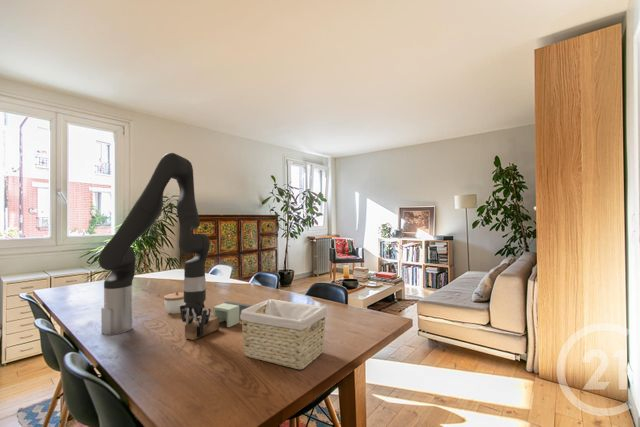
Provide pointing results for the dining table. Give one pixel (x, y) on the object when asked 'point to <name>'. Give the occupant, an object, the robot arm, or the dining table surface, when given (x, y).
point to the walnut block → (208, 328)
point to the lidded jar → (174, 302)
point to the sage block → (227, 313)
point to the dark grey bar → (241, 306)
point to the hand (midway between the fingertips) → (195, 335)
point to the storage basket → (284, 332)
